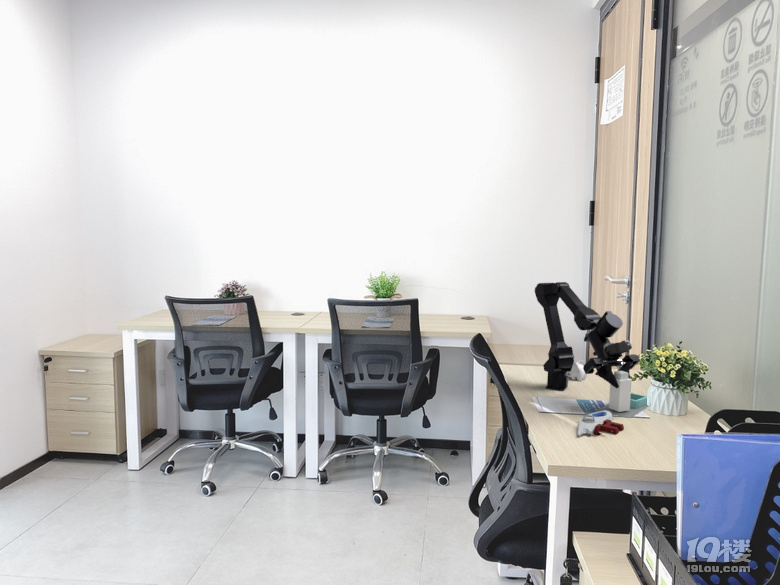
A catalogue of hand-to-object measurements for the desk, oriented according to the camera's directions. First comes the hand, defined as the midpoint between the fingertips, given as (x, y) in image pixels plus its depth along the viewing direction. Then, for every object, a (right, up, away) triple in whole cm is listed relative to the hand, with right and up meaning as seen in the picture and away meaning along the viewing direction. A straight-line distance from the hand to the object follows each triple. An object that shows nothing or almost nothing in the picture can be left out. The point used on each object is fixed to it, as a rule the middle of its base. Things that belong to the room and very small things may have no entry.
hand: (623, 386), depth 196 cm
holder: (+6, -7, +10) cm, 14 cm away
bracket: (-10, -11, -16) cm, 22 cm away
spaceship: (-13, -11, -11) cm, 20 cm away
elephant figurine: (-2, -4, +45) cm, 45 cm away
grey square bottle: (-1, -7, +2) cm, 8 cm away
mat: (+3, -8, +6) cm, 11 cm away
